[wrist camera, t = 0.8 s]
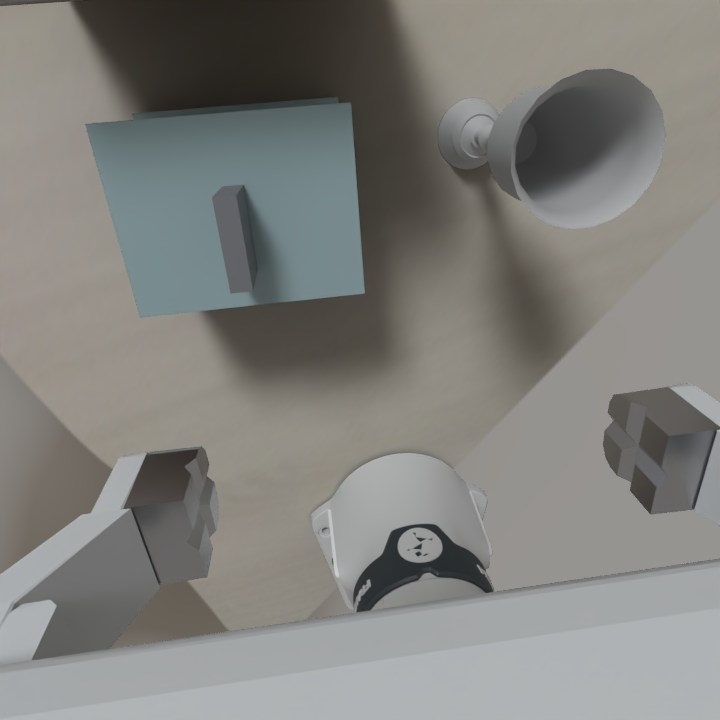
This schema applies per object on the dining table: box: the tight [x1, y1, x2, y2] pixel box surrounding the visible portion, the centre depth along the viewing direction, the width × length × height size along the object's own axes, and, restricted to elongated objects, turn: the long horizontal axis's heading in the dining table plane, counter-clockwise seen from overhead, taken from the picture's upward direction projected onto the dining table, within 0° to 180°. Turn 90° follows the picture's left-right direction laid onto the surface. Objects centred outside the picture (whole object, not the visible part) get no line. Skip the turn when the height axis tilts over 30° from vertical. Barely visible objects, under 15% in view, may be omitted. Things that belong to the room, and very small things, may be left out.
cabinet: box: [85, 97, 365, 317], centre depth 33 cm, size 11×14×15 cm
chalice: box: [438, 69, 666, 229], centre depth 32 cm, size 7×7×18 cm
